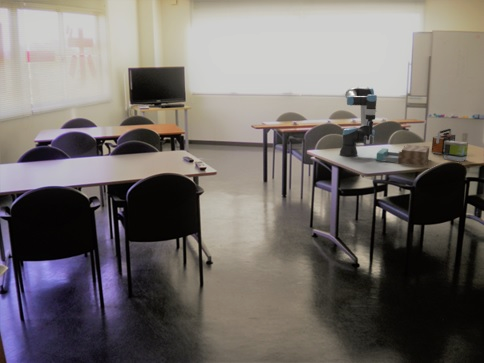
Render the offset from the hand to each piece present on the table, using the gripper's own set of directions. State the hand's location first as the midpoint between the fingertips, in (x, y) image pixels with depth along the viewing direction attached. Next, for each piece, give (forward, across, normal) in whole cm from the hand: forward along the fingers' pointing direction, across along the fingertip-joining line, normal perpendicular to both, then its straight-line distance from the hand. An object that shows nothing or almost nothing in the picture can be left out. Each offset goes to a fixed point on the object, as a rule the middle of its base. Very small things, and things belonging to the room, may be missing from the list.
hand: (368, 143), depth 401 cm
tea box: (+15, +40, -64) cm, 77 cm away
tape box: (0, 0, 0) cm, 0 cm away
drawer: (+14, +16, -18) cm, 28 cm away
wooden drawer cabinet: (+15, +16, -34) cm, 40 cm away
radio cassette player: (+15, +70, -52) cm, 88 cm away
